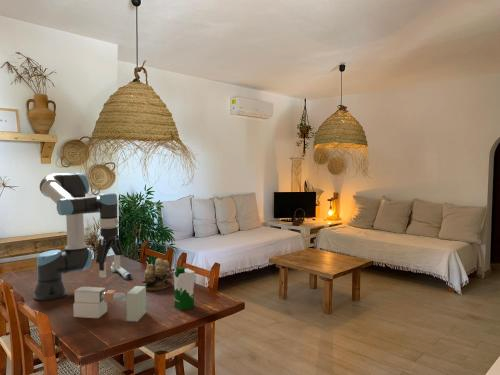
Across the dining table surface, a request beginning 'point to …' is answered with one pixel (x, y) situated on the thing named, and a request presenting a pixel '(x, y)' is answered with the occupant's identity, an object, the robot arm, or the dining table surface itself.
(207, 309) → the dining table surface
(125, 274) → the white knobbed cylinder
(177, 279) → the milk carton
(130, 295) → the socket block
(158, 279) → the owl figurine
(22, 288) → the dining table surface
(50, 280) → the robot arm
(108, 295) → the tube
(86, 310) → the sleeve
